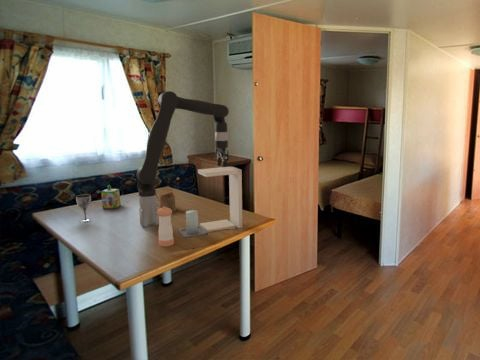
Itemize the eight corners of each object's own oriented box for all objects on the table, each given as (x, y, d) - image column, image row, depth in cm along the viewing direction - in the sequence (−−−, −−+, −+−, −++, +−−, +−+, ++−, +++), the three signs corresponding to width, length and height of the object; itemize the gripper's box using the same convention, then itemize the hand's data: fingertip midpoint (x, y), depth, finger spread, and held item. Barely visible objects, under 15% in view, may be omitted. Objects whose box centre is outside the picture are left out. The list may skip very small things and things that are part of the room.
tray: (184, 239, 176) (184, 236, 175) (178, 232, 186) (178, 229, 186) (207, 235, 181) (207, 232, 180) (200, 228, 191) (199, 226, 191)
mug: (146, 211, 226) (145, 192, 224) (171, 206, 237) (170, 188, 235) (155, 215, 218) (154, 196, 215) (180, 209, 229) (179, 191, 227)
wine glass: (87, 217, 214) (85, 193, 211) (96, 219, 210) (93, 195, 207) (75, 221, 207) (72, 196, 204) (84, 223, 203) (81, 198, 200)
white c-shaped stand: (207, 233, 184) (205, 173, 177) (199, 227, 194) (197, 169, 188) (242, 227, 192) (241, 169, 186) (233, 221, 203) (232, 166, 196)
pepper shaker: (155, 246, 168) (152, 207, 164) (166, 241, 174) (164, 203, 170) (166, 249, 164) (164, 209, 160) (177, 244, 170) (175, 205, 166)
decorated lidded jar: (115, 208, 233) (113, 186, 230) (102, 208, 233) (100, 186, 230) (121, 205, 242) (119, 183, 239) (108, 204, 242) (106, 183, 240)
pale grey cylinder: (188, 235, 179) (187, 214, 177) (185, 231, 185) (184, 211, 183) (200, 233, 182) (199, 212, 180) (196, 229, 187) (195, 209, 185)
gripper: (211, 139, 214) (212, 165, 217) (220, 140, 201) (220, 169, 205) (222, 138, 217) (223, 164, 220) (232, 140, 205) (232, 168, 208)
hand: (222, 166), depth 213 cm, fingers open, 8 cm apart
